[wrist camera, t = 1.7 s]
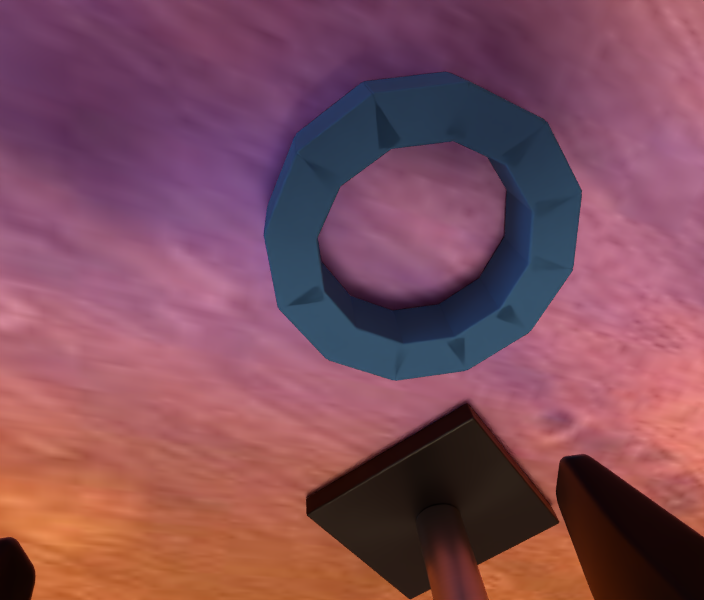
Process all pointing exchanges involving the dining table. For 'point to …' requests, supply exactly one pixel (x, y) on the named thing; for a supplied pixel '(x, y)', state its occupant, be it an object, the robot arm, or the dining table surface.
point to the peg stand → (434, 508)
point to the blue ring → (470, 302)
